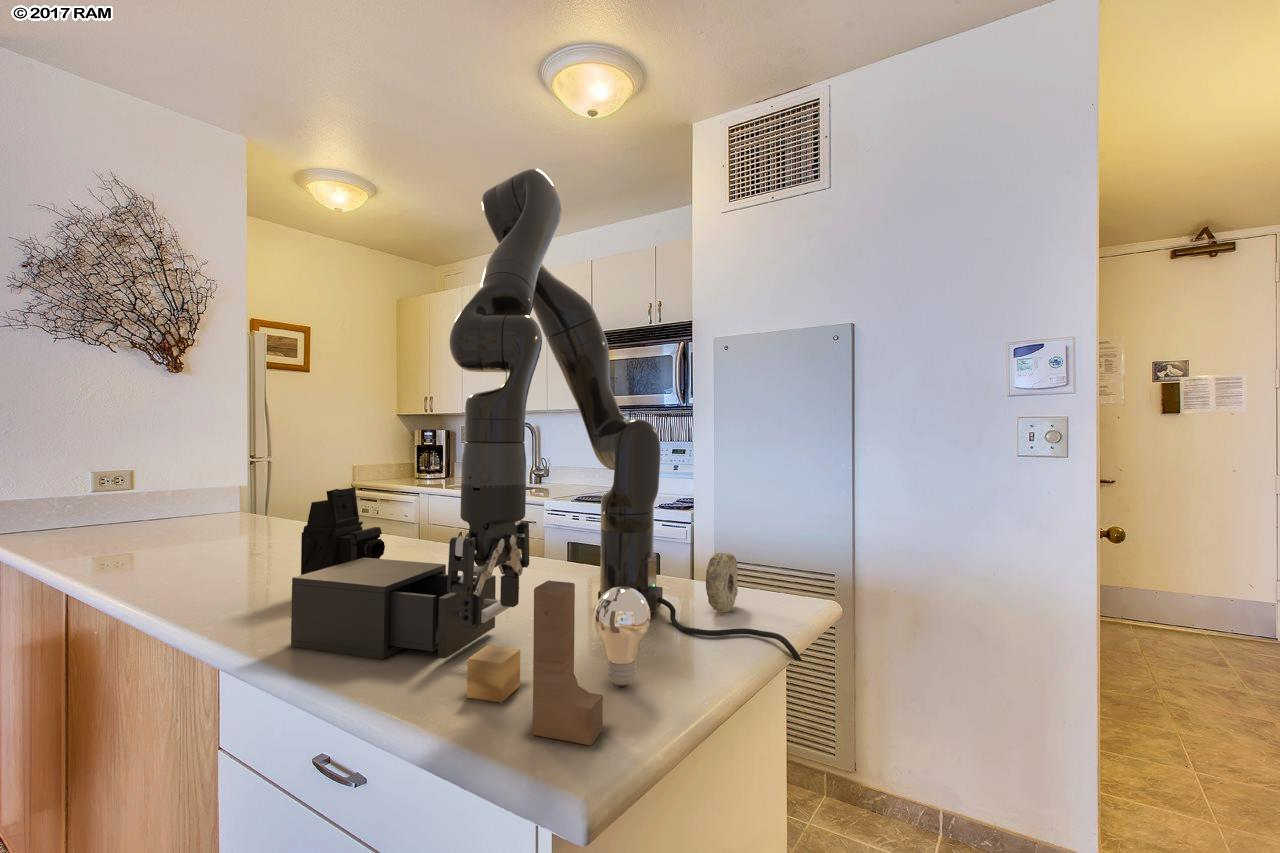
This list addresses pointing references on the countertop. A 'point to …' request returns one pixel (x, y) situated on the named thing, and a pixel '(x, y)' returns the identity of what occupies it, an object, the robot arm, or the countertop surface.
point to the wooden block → (560, 671)
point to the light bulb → (622, 630)
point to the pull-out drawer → (436, 615)
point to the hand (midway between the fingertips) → (491, 616)
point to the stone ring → (722, 581)
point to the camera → (337, 533)
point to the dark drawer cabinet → (351, 605)
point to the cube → (493, 673)
